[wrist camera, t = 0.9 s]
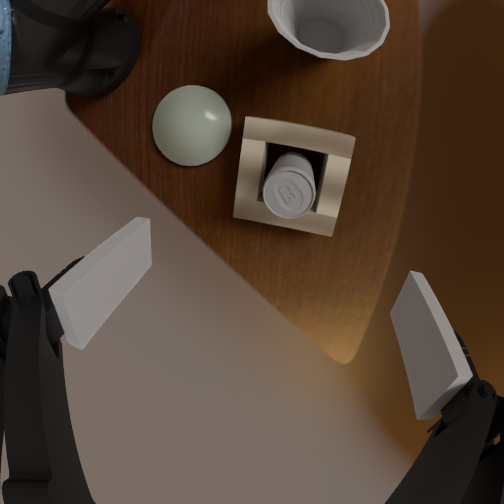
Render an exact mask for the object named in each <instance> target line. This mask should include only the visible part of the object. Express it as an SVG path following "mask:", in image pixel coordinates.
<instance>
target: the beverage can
mask: <svg viewBox="0 0 504 504" xmlns="http://www.w3.org/2000/svg"><path fill="white" fill-rule="evenodd" d="M315 195H316V190H315V183H314V177H313V171H312V165H311V163H310V161H309V160H308V159H307V158H306V157H305V156H303V155H302V154H300V153H297V152H287V153H285V154H283V155H281V156H280V157H279V158H278V160H277V161H276V163H275V164H274V166H273V167H272V169H271V171H270V173H269V174H268V176H267V178H266V180H265V182H264V185H263V198H264V202H265V204H266V206H267V208H268V209H269V210H270V211H271V212H272V213H273V214H275V215H276V216H279V217H281V218H286V219H294V218H298V217H300V216H302V215H304V214H305V213H307V212H308V210H309V209H310V208H311V206H312V205H313V203H314V200H315Z"/></svg>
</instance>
